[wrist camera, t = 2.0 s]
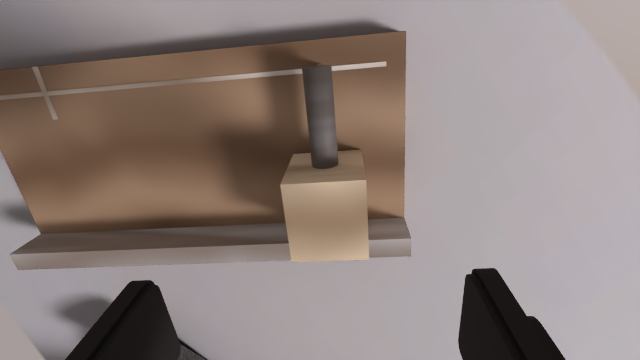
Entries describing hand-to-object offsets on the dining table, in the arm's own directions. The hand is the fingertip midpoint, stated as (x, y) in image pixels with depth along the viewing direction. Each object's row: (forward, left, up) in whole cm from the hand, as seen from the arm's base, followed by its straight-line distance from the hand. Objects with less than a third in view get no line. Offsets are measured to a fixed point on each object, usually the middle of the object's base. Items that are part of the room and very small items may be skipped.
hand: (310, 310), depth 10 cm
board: (+2, +8, -13) cm, 15 cm away
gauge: (+2, 0, -11) cm, 11 cm away
